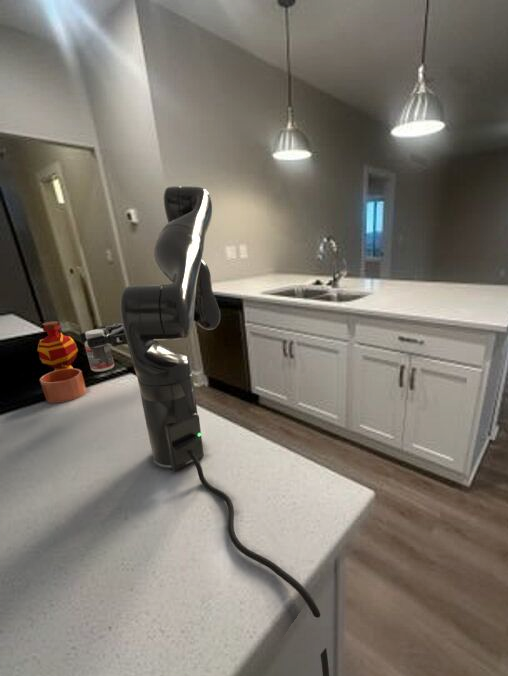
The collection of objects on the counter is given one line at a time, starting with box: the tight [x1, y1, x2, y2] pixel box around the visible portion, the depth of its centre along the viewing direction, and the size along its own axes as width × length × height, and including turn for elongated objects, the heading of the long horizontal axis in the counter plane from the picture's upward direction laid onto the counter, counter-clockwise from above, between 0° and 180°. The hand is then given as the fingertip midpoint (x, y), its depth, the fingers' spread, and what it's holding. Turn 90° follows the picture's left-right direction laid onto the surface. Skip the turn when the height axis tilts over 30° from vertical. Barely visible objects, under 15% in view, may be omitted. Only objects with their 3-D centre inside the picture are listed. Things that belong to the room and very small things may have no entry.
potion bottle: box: [36, 320, 79, 371], centre depth 104 cm, size 10×10×15 cm
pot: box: [39, 367, 87, 403], centre depth 91 cm, size 9×9×6 cm
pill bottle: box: [84, 329, 115, 372], centre depth 86 cm, size 5×5×10 cm
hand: (84, 340), depth 83 cm, fingers closed on pill bottle, 5 cm apart
